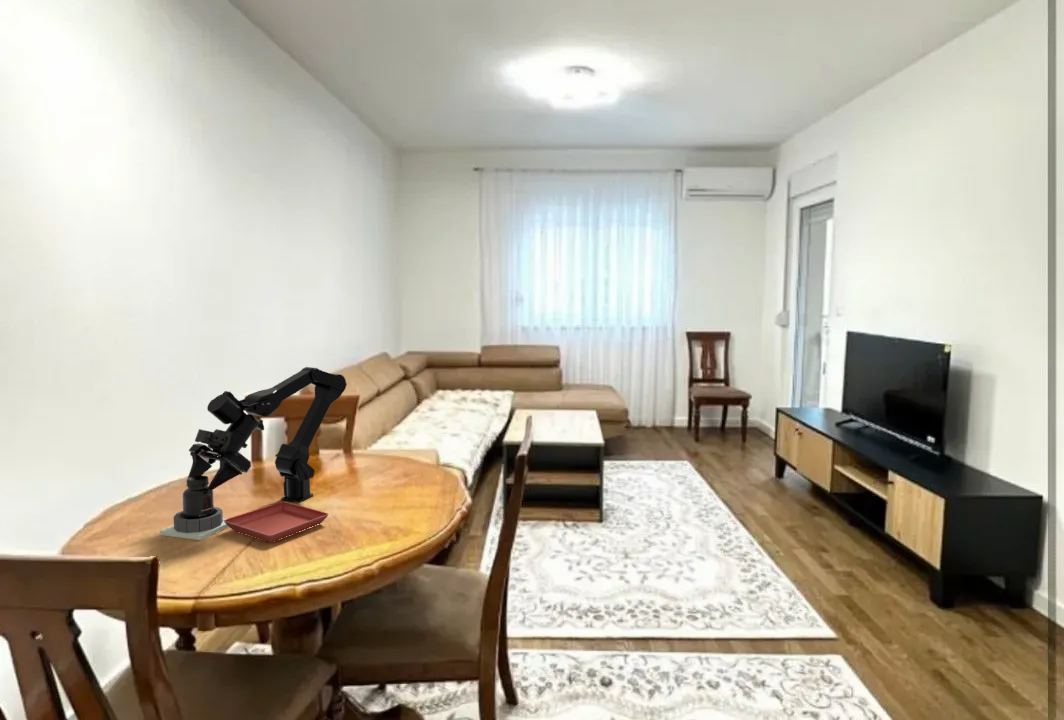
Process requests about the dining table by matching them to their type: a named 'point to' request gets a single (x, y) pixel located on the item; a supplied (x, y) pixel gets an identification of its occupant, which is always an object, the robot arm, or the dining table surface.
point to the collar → (198, 522)
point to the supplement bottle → (197, 498)
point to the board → (196, 536)
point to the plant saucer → (276, 521)
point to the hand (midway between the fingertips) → (198, 486)
